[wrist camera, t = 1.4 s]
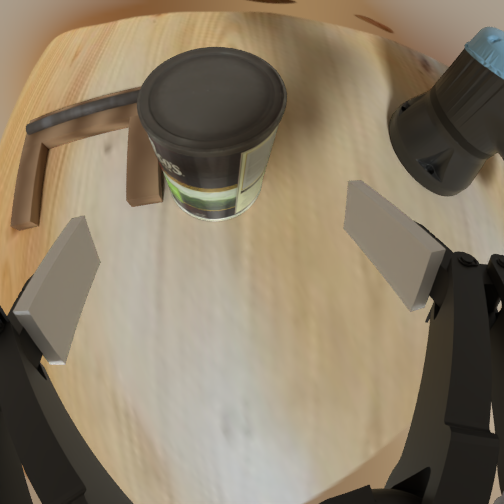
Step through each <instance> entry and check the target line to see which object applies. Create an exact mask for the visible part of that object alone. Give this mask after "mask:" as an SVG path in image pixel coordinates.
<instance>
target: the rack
mask: <svg viewBox="0 0 504 504" xmlns="http://www.w3.org/2000/svg"><path fill="white" fill-rule="evenodd" d="M140 89H141V87H138V88H133V89H129V90H125V91H120V92H116V93H112V94H108V95H105V96H101V97H97V98H94V99H90V100H87V101H84V102H81V103H77V104H74V105H71V106H68V107H65V108H62V109H59V110H57V111H54V112H51V113H49V114H46V115H43V116H41V117H38V118H36V119H33V120H31V121H30V123H29V124H27V126H26V132H27V134H26V138H25V142H24V146H23V150H22V155H21V159H20V164H19V169H18V175H17V180H16V186H15V193H14V200H13V208H12V217H11V227H13V228H15V229H17V230H19V231H20V230H24V229H28V228H32V227H37V226H39V215H40V203H41V194H42V185H43V178H44V171H45V165H46V159H47V153H48V149H51V148H54V147H57V146H60V145H63V144H66V143H70V142H73V141H76V140H80V139H83V138H87V137H91V136H94V135H98V134H102V133H106V132H110V131H115V130H119V129H123V128H128V127H129V133H128V151H127V186H126V200H127V202H128V203H129V204H130V205H131V206H132V207H135V206H141V205H147V204H153V203H159V202H163V198H162V174H161V166H160V164H159V161H158V159H157V156H156V154H155V152H154V149H153V147H152V144H151V141H150V139H149V137H148V134H147V132H146V131H145V129H144V128H143V126H142V124H141V122H140V119H139V116H138V113H137V98H138V94H139V91H140Z"/></svg>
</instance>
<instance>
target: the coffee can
mask: <svg viewBox="0 0 504 504" xmlns="http://www.w3.org/2000/svg"><path fill="white" fill-rule="evenodd" d="M286 102H287V92H286V88H285V85H284V82H283V80H282V79H281V77H280V75H279V74H278V72H277V71H276V70H275V69H274V68H273V67H272V66H271V65H270V64H269V63H267V62H266V61H264V60H263V59H261V58H259V57H258V56H256V55H253V54H251V53H248V52H245V51H242V50H238V49H233V48H225V47H207V48H199V49H194V50H190V51H187V52H184V53H181V54H179V55H176V56H174V57H172V58H170V59H168V60H167V61H165V62H163V63H162V64H160V65H159V66H158V67H157V68H155V70H153V71H152V73H151V74H150V75H149V76H148V77H147V78H146V80H145V81H144V83H143V85H142V87H141V89H140V91H139V94H138V98H137V113H138V116H139V119H140V122H141V124H142V126H143V128H144V129H145V131H146V132H147V134H148V137H149V139H150V141H151V144H152V147H153V149H154V152H155V154H156V156H157V159H158V161H159V164H160V166H161V168H162V171H163V173H164V176H165V178H166V180H167V183H168V185H169V188H170V191H171V195H172V197H173V199H174V200H175V202H176V203H177V205H178V206H179V207H180V208H181V209H182V210H183V211H185V212H186V213H187V214H189V215H191V216H193V217H195V218H197V219H200V220H205V221H224V220H228V219H232V218H234V217H237V216H239V215H240V214H242V213H243V212H245V211H246V210H247V209H248V208H250V206H251V205H252V204H253V203H254V202H255V200H256V199H257V197H258V195H259V193H260V191H261V187H262V180H263V177H264V173H265V170H266V166H267V163H268V159H269V156H270V152H271V149H272V145H273V142H274V139H275V135H276V132H277V129H278V125H279V122H280V121H281V119H282V116H283V114H284V111H285V108H286Z"/></svg>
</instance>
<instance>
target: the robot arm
mask: <svg viewBox="0 0 504 504" xmlns="http://www.w3.org/2000/svg"><path fill="white" fill-rule="evenodd" d="M389 132H390V138H391V142H392V145H393V147H394V150H395V152H396V154H397V156H398V158H399V159H400V161H401V163H402V164H403V166H404V167H405V168H406V170H407V171H408V172H409V173H410V174H411V175H412V177H413V178H414V179H415V180H416V181H418V182H419V183H420V184H421V185H422V186H424V187H425V188H426V189H428V190H430V191H431V192H433V193H436V194H438V195H442V196H453V195H456V194H458V193H459V192H461V191H463V190H464V189H466V188H467V187H468V186H469V185H470V184H471V183H472V181H473V180H474V178H475V177H476V175H477V174H478V172H479V171H480V169H481V168H482V166H483V164H484V163H485V161H486V160H487V159H488V158H490V157H491V156H493V155H494V154H496V153H499V154H500V156H501V157H502V159H503V160H504V32H503V31H501V30H499V29H497V28H493V27H485V28H483V29H481V30H480V31H479V32H478V33H477V35H476V36H475V37H474V38H473V39H472V40H471V41H470V42H467V43H466V44H465V48H464V50H463V51H462V52H461V54H460V55H459V56H458V57H457V59H456V60H455V61H454V62H453V63H452V65H451V66H450V67H449V68H448V69H447V70H446V72H445V73H444V74H443V75H442V76H441V77H440V79H439V80H438V81H437V82H436V83H435V85H434V86H433V87H432V88H431V89H430V90H429V91H427V92H425V93H423V94H421V95H418V96H416V97H414V98H412V99H410V100H408V101H406V102H405V103H403V104H402V105H401V106H400V107H399V108H398V109H397V110H396V112H395V113H394V114H393V116H392V117H391V120H390V125H389ZM344 230H345V231H346V232H347V233H348V234H349V235H350V237H351V238H352V239H353V240H354V241H355V242H356V244H357V245H358V246H359V247H360V248H361V250H362V251H363V252H364V253H365V254H366V256H367V257H368V258H369V259H370V261H371V262H372V263H373V264H374V265H375V267H376V268H377V269H378V270H379V272H380V273H381V274H382V275H383V277H384V278H385V279H386V280H387V282H388V283H389V284H390V286H391V287H392V288H393V289H394V291H395V292H396V293H397V295H398V296H399V297H400V299H401V300H402V301H403V303H404V304H405V305H406V307H407V308H408V309H409V311H410V312H411V311H414V310H418V309H421V308H424V307H425V305H426V302H427V300H428V297H429V295H430V297H431V298H432V299H433V300H434V303H433V305H432V307H431V310H430V312H429V314H428V316H427V319H426V321H425V322H427V323H428V321H429V319H430V326H429V335H428V343H427V350H426V356H425V363H424V368H423V374H422V379H421V384H420V389H419V394H418V398H417V403H416V407H415V411H414V415H413V419H412V423H411V426H410V430H409V433H408V437H407V440H406V443H405V447H404V450H403V453H402V456H401V458H400V460H399V462H398V464H397V465H396V467H395V468H394V469H393V471H392V473H391V475H390V476H389V478H388V481H387V483H386V486H385V488H384V489H371V488H370V485H367V486H364V487H362V488H359V489H356V490H354V491H351V492H348V493H345V494H342V495H339V496H336V497H333V498H329V499H327V500H325V501H323V502H321V503H320V504H488V503H489V500H490V496H491V492H492V487H493V482H494V478H495V473H496V466H497V468H498V477H499V485H500V490H501V494H502V496H500V497H498V498H497V499H496V500H495V502H494V504H504V256H503V255H499V254H493V255H491V257H490V260H489V263H488V265H487V264H479V262H478V261H477V260H476V259H475V258H474V257H473V256H471V255H470V254H467V253H465V252H454V253H453V252H452V251H451V250H450V249H449V248H448V247H447V246H446V245H444V244H443V243H442V242H441V241H440V240H439V239H438V238H435V236H434V235H433V234H432V233H430V231H429V230H427V229H426V228H425V227H424V226H423V225H421V224H419V223H417V222H415V221H413V220H412V219H411V218H409V217H408V216H407V215H406V214H404V213H403V212H402V211H401V210H400V209H398V208H397V207H396V206H395V205H393V204H392V203H391V202H389V201H388V200H387V199H386V198H384V197H383V196H382V195H380V194H379V193H378V192H376V191H375V190H374V189H372V188H371V187H370V186H368V185H367V184H366V183H364V182H363V181H361V180H357V181H348V190H347V201H346V211H345V221H344ZM100 263H101V262H100V259H99V256H98V254H97V251H96V248H95V245H94V243H93V240H92V237H91V234H90V231H89V228H88V225H87V222H86V219H85V216H80V217H76V218H72V219H71V220H70V221H69V223H68V224H67V226H66V227H65V228H64V230H63V231H62V232H61V234H60V235H59V237H58V238H57V240H56V241H55V242H54V244H53V245H52V247H51V248H50V250H49V251H48V253H47V254H46V256H45V257H44V259H43V261H42V262H41V264H40V265H39V267H38V268H37V270H36V272H35V273H34V274H33V275H32V276H31V277H30V278H29V279H28V280H27V282H26V283H25V285H24V287H23V288H22V291H21V292H20V293H19V295H18V298H17V299H16V301H15V302H14V304H13V306H12V308H11V310H10V312H9V314H8V316H6V314H5V313H4V311H3V309H2V308H1V306H0V504H33V502H32V499H31V496H30V493H29V490H28V486H27V483H26V480H25V476H24V472H23V468H24V470H25V472H26V474H27V476H28V478H29V480H30V482H31V484H32V486H33V488H34V490H35V492H36V494H37V495H38V497H39V499H40V501H41V502H42V504H133V503H132V501H131V500H130V499H129V498H128V497H127V496H126V495H125V494H124V492H123V491H122V490H121V489H120V488H119V486H118V485H117V484H116V483H115V481H114V480H113V479H112V478H111V476H110V475H109V474H108V473H107V471H106V470H105V469H104V467H103V466H102V465H101V463H100V462H99V461H98V459H97V458H96V456H95V455H94V454H93V452H92V451H91V449H90V448H89V446H88V445H87V443H86V442H85V440H84V439H83V437H82V436H81V434H80V433H79V431H78V429H77V428H76V426H75V424H74V423H73V421H72V419H71V418H70V416H69V414H68V413H67V411H66V409H65V407H64V405H63V404H62V402H61V400H60V398H59V396H58V394H57V392H56V390H55V388H54V386H53V384H52V382H51V380H50V378H49V376H48V374H47V372H46V370H45V368H44V367H43V365H42V364H41V363H40V360H41V357H42V354H43V356H44V357H45V358H46V360H47V361H48V362H49V363H50V364H66V360H67V357H68V353H69V350H70V346H71V343H72V340H73V337H74V333H75V330H76V327H77V324H78V321H79V318H80V315H81V312H82V309H83V307H84V304H85V301H86V298H87V295H88V293H89V290H90V288H91V285H92V282H93V280H94V277H95V275H96V272H97V270H98V267H99V265H100ZM500 300H501V302H502V308H501V310H500V311H499V312H498V310H497V306H498V304H499V302H500ZM491 403H492V409H493V417H494V426H495V434H494V433H491V432H490V430H489V422H490V410H491ZM21 463H22V464H21ZM22 465H23V468H22Z"/></svg>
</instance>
